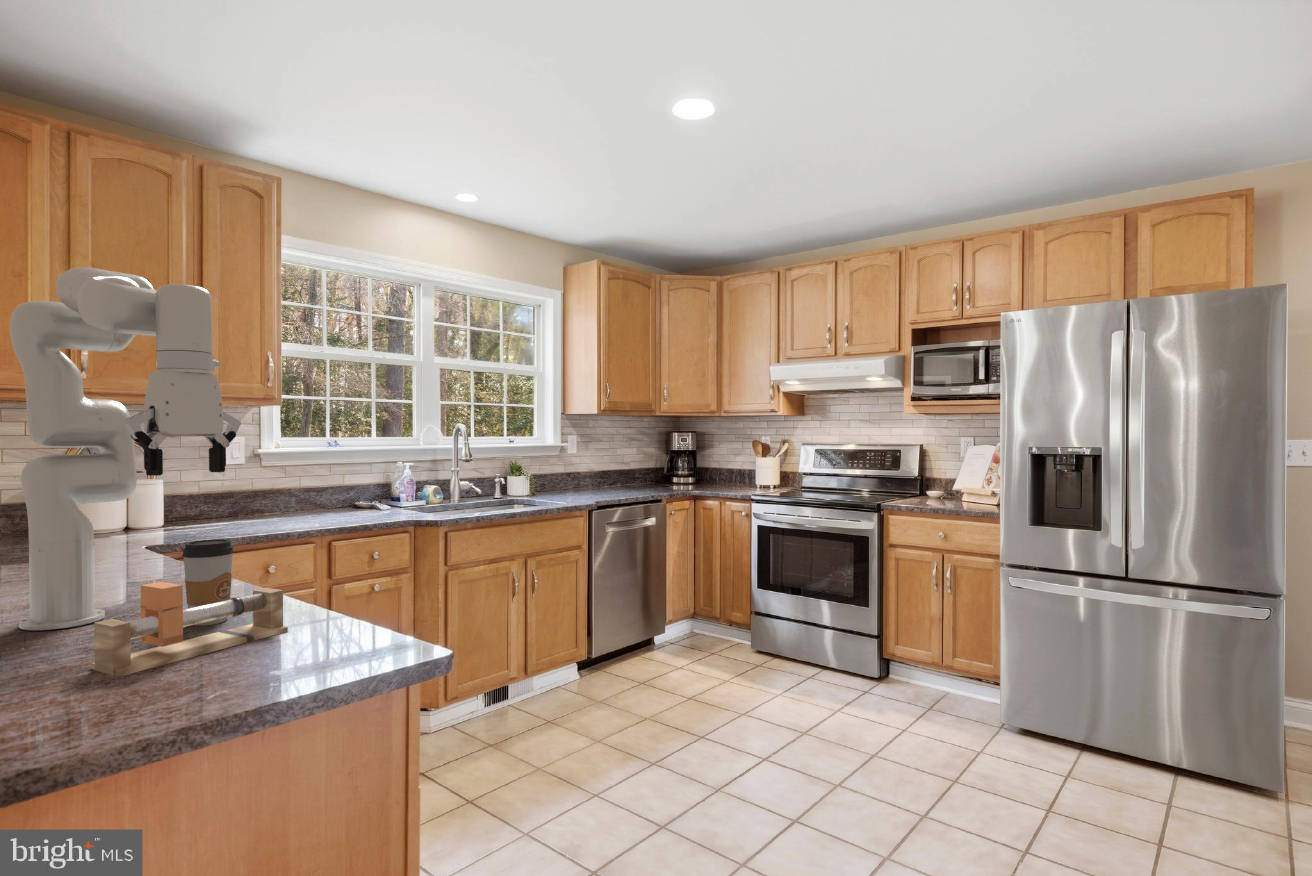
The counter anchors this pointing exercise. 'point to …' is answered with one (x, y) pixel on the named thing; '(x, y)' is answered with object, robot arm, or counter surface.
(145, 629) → the pipe
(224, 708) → the counter surface
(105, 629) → the beige long frame
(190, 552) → the coffee cup
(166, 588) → the collar
